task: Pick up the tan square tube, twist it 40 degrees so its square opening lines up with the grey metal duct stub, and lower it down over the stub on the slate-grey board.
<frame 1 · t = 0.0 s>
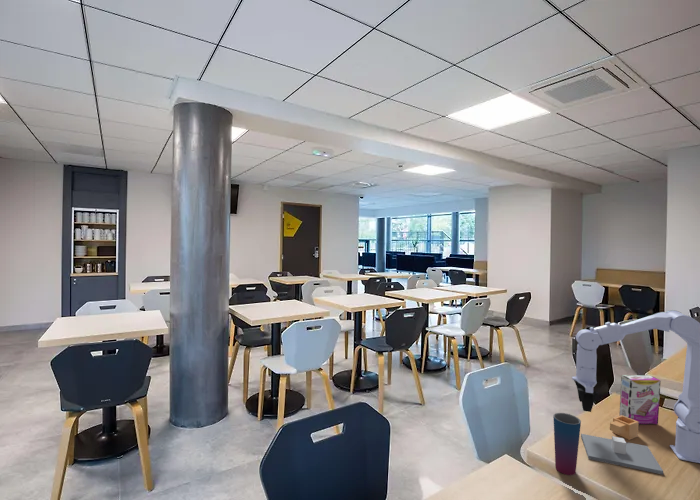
hand: (585, 406, 126), 10 cm above the table, tool pointing down, fingers open, 7 cm apart
cup: (565, 470, 108), on the table
candy bar box: (638, 422, 136), on the table
tan square tube: (625, 434, 127), on the table
duct board: (618, 453, 116), on the table
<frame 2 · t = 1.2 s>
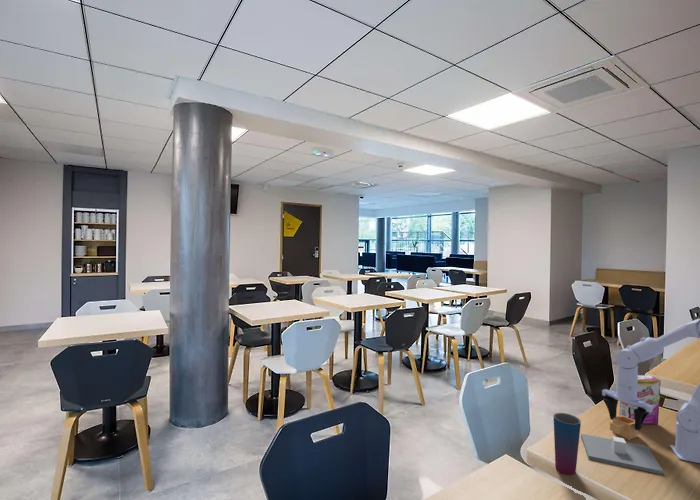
hand: (625, 424, 127), 4 cm above the table, tool pointing down, fingers open, 7 cm apart
nothing on the table moved.
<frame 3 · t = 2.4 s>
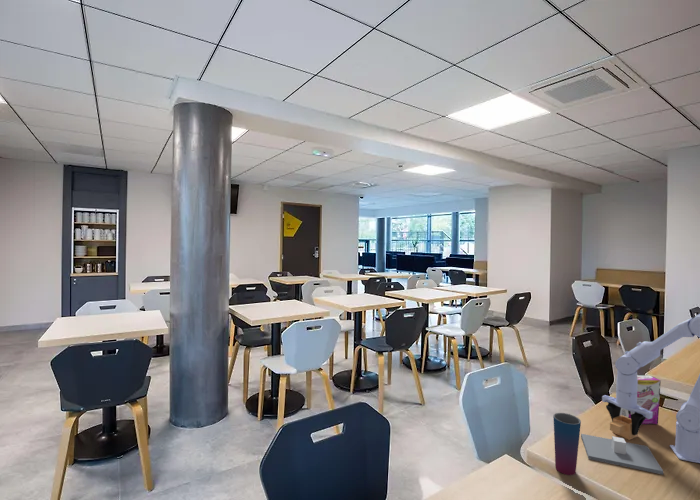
hand: (625, 430, 127), 1 cm above the table, tool pointing down, fingers closed on tan square tube, 5 cm apart
tan square tube: (625, 434, 127), on the table, touching gripper
everything else where it was.
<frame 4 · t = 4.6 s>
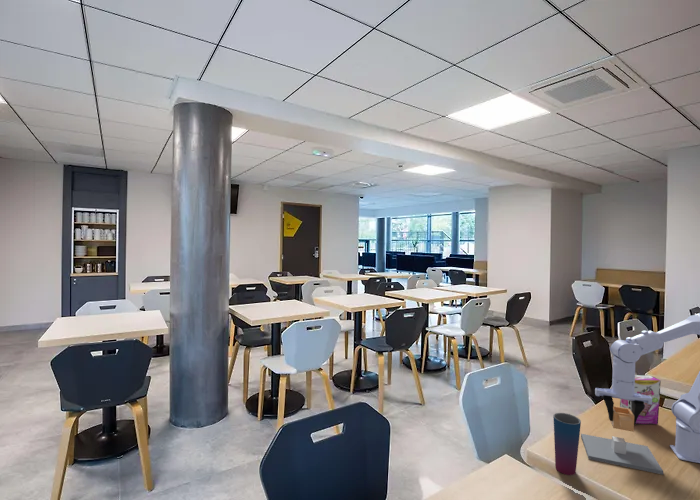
hand: (621, 421, 119), 8 cm above the table, tool pointing down, fingers closed on tan square tube, 5 cm apart
tan square tube: (621, 426, 119), point 7 cm above the table, touching gripper
everything else where it was.
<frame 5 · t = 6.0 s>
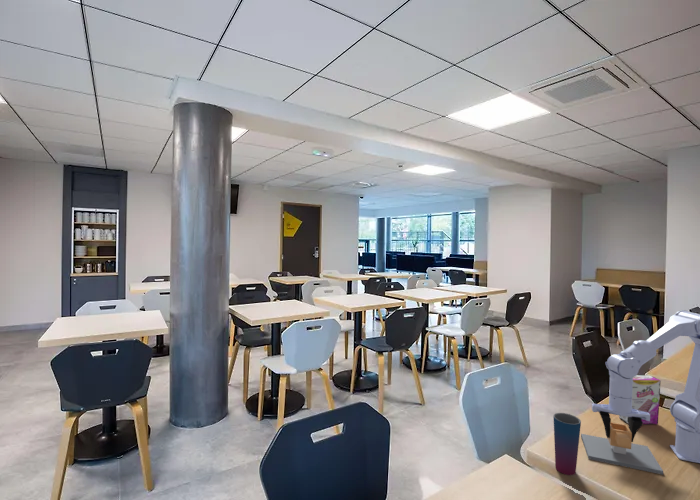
hand: (619, 438, 116), 5 cm above the table, tool pointing down, fingers closed on tan square tube, 5 cm apart
tan square tube: (618, 442, 116), point 3 cm above the table, touching gripper
everything else where it was.
when the fingers open (3 cm above the table, at t = 6.9 s): tan square tube stays where it is, resting on duct board.
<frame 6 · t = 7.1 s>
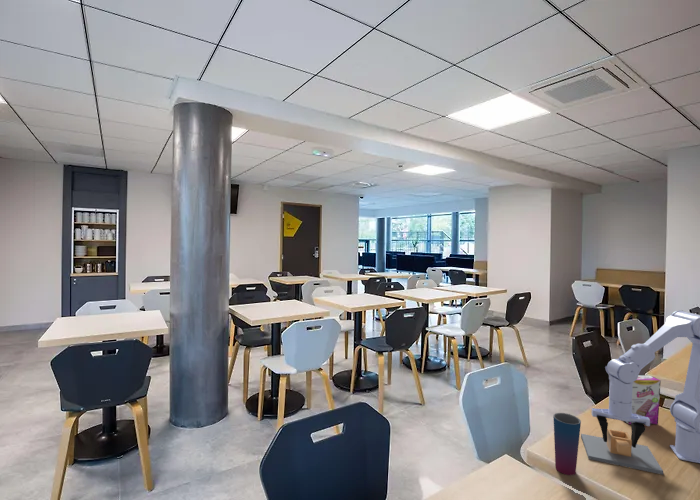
hand: (618, 443, 116), 3 cm above the table, tool pointing down, fingers open, 7 cm apart
tan square tube: (618, 450, 116), point 1 cm above the table, touching duct board
everything else where it was.
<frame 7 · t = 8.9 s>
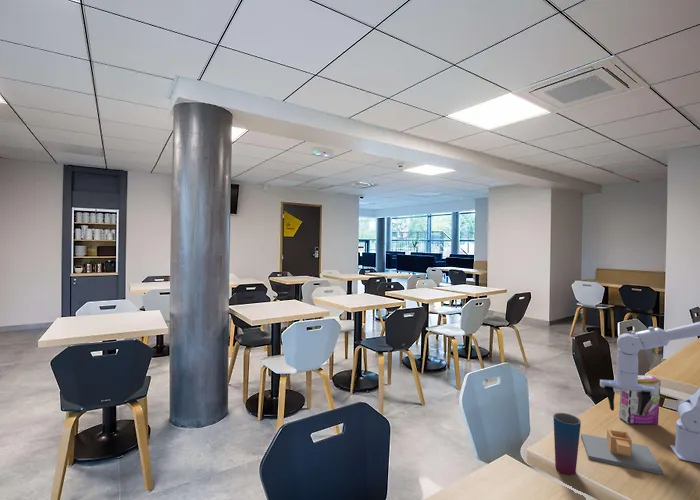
hand: (625, 411, 124), 9 cm above the table, tool pointing down, fingers open, 7 cm apart
nothing on the table moved.
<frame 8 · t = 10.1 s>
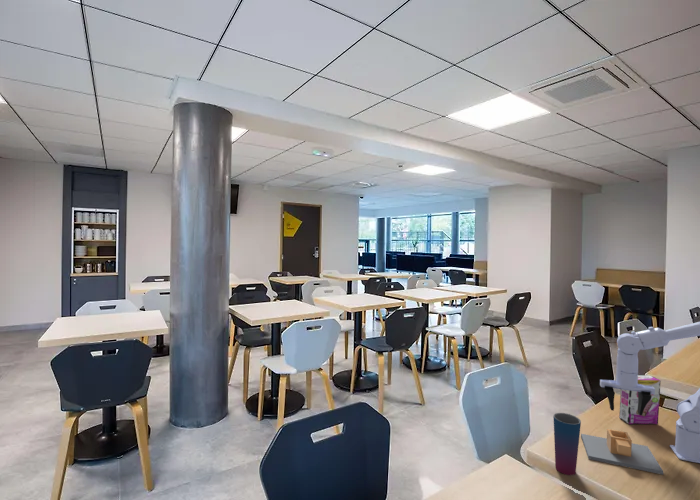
hand: (625, 411, 124), 9 cm above the table, tool pointing down, fingers open, 7 cm apart
nothing on the table moved.
at the end: tan square tube 0.3 cm off-centre on the duct board, point 1.0 cm above the duct board's base; tan square tube tilted 0°; the gripper is holding nothing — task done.
